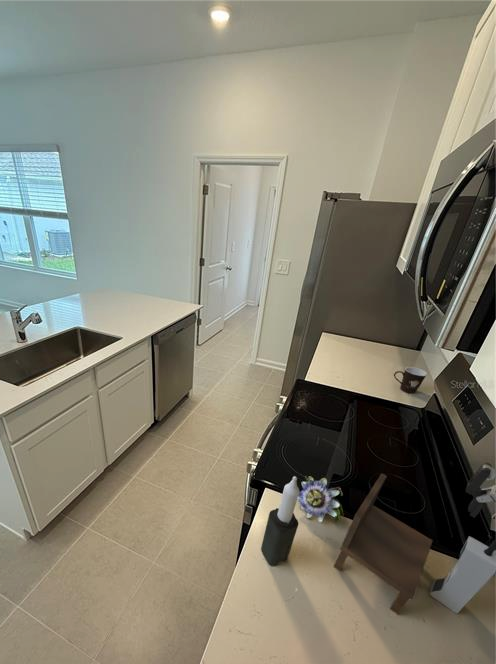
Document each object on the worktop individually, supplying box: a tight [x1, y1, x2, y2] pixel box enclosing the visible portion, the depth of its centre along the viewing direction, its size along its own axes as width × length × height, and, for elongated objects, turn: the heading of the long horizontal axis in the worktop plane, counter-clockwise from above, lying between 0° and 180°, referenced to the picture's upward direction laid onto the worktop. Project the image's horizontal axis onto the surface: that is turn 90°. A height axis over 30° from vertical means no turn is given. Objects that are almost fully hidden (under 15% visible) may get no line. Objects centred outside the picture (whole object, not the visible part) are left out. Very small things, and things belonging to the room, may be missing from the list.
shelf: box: [333, 473, 433, 615], centre depth 66 cm, size 16×14×18 cm
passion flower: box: [297, 475, 344, 523], centre depth 81 cm, size 11×11×12 cm
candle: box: [260, 475, 300, 567], centre depth 65 cm, size 5×5×25 cm
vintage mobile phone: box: [429, 535, 496, 614], centre depth 59 cm, size 4×5×25 cm
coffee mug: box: [393, 366, 428, 395], centre depth 142 cm, size 12×9×10 cm
